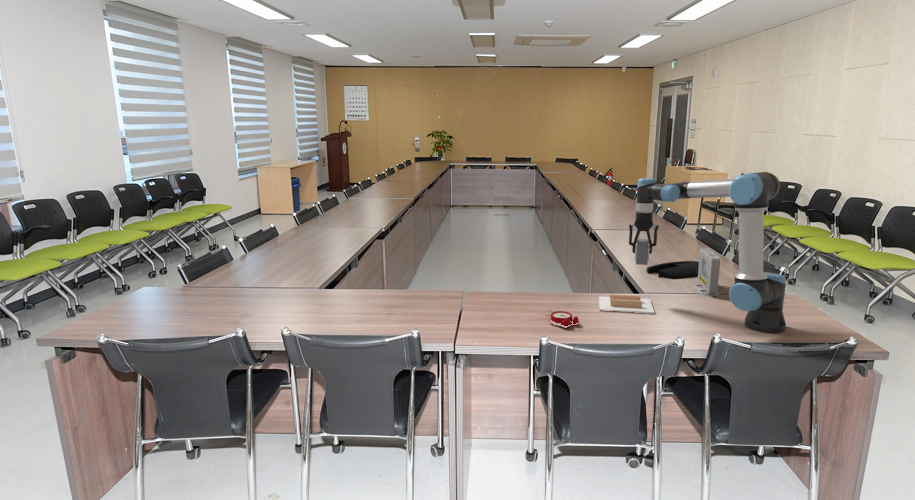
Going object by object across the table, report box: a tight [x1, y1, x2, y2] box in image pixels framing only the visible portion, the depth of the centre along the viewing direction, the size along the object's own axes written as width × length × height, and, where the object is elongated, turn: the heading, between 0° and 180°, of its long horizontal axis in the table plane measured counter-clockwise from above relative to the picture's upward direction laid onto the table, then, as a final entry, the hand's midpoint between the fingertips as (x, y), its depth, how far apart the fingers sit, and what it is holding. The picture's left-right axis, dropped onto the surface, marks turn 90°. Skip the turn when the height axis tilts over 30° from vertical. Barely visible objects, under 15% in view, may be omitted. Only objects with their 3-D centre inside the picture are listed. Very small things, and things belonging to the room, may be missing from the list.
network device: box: [693, 247, 721, 297], centre depth 278 cm, size 26×9×20 cm, turn 168°
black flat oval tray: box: [645, 260, 699, 280], centre depth 316 cm, size 25×41×5 cm, turn 111°
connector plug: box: [635, 237, 649, 266], centre depth 258 cm, size 5×5×12 cm
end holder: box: [598, 293, 655, 315], centre depth 257 cm, size 20×24×4 cm
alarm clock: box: [545, 310, 581, 327], centre depth 235 cm, size 10×6×15 cm
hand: (641, 259), depth 259 cm, fingers closed on connector plug, 5 cm apart
